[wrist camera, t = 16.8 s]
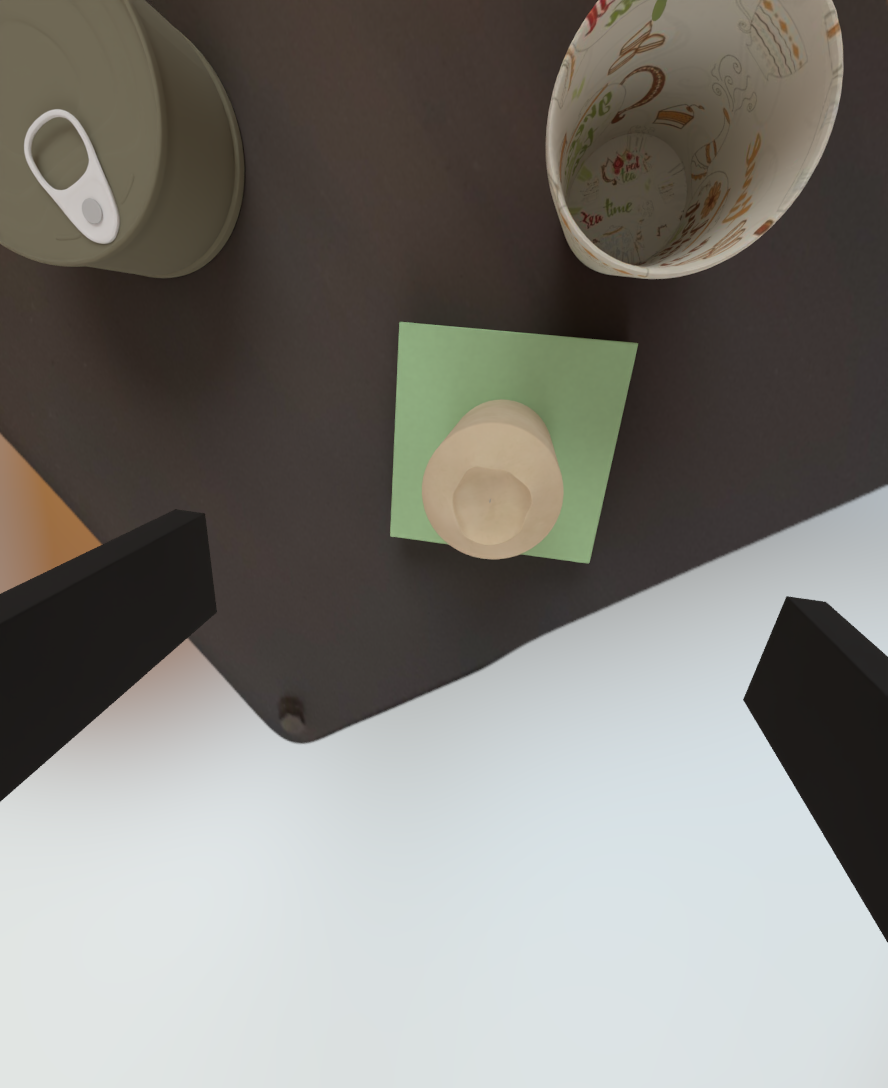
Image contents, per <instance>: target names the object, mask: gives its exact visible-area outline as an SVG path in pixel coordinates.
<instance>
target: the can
mask: <svg viewBox="0 0 888 1088" xmlns="http://www.w3.org/2000/svg"><path fill="white" fill-rule="evenodd" d="M244 174H245V168H244V154H243V146H242V140H241V135H240V130H239V126H238V123H237V119H236V116H235V113H234V110H233V108H232V105H231V102H230V100H229V98H228V95H227V93H226V91H225V89H224V87H223V85H222V83H221V81H220V80H219V78H218V76H217V75H216V73H215V71H214V70H213V68H212V67H211V65H210V64H209V63H208V61H207V60H206V59H205V57H204V56H203V55H202V53H201V52H200V51H199V50H198V49H197V48H196V47H195V46H194V45H193V44H192V42H191V41H189V40H188V39H187V38H186V37H185V36H184V35H183V34H182V33H181V32H180V31H178V30H177V29H176V28H175V27H173V26H172V25H171V24H170V23H169V22H168V21H167V20H166V19H165V18H164V17H163V16H161V15H160V14H159V13H158V12H157V11H156V10H155V9H154V8H153V7H152V6H151V5H149V4H148V3H147V2H146V1H145V0H0V244H1V245H3V246H4V247H6V248H8V249H10V250H12V251H13V252H15V253H17V254H19V255H22V256H24V257H26V258H29V259H32V260H35V261H38V262H41V263H46V264H50V265H56V266H66V267H82V266H87V267H93V268H100V269H106V270H112V271H118V272H124V273H131V274H138V275H142V276H147V277H153V278H174V277H180V276H184V275H187V274H190V273H192V272H194V271H197V270H198V269H200V268H202V267H203V266H205V265H206V264H207V263H209V262H210V261H211V260H212V259H213V258H214V257H215V256H216V255H217V254H218V253H219V252H220V251H221V249H222V248H223V247H224V245H225V244H226V242H227V240H228V239H229V237H230V235H231V233H232V231H233V229H234V227H235V224H236V221H237V219H238V216H239V212H240V208H241V204H242V198H243V191H244Z"/></svg>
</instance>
